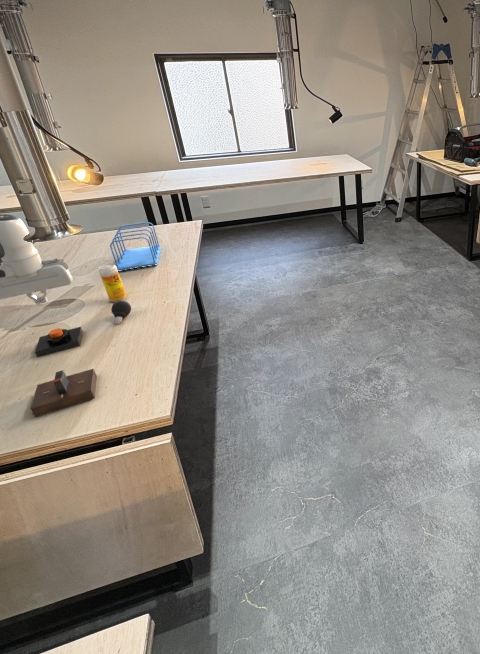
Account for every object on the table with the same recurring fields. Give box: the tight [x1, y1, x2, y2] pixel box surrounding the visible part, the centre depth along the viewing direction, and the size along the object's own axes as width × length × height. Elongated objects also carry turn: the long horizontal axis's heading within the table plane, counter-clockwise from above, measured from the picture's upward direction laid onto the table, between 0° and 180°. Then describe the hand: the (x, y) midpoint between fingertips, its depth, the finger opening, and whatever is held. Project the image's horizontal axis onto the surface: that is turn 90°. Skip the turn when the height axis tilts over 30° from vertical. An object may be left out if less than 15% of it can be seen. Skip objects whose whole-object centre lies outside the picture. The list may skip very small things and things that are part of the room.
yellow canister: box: [98, 263, 127, 303], centre depth 167 cm, size 6×6×15 cm
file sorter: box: [109, 221, 162, 273], centre depth 202 cm, size 25×17×15 cm
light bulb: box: [110, 300, 132, 325], centre depth 155 cm, size 6×6×10 cm
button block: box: [34, 326, 84, 358], centre depth 142 cm, size 12×10×4 cm
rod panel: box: [30, 368, 98, 418], centre depth 119 cm, size 14×11×3 cm
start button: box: [48, 327, 63, 338], centre depth 140 cm, size 4×4×2 cm
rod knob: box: [53, 369, 68, 394], centre depth 117 cm, size 6×2×4 cm, turn 30°
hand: (42, 302), depth 135 cm, fingers closed
